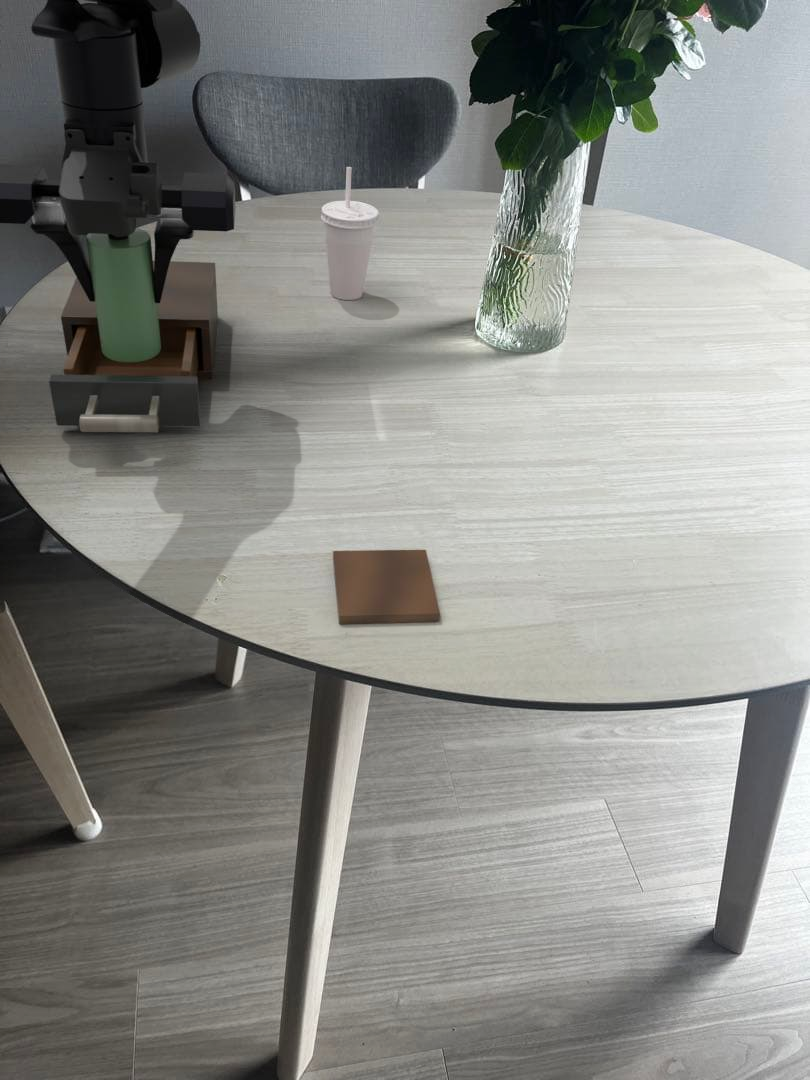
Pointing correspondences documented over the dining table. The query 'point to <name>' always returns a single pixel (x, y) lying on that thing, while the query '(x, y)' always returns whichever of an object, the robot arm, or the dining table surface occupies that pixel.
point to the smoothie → (348, 243)
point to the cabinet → (165, 308)
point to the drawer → (128, 385)
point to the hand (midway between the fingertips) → (125, 300)
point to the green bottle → (125, 295)
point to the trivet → (384, 587)
